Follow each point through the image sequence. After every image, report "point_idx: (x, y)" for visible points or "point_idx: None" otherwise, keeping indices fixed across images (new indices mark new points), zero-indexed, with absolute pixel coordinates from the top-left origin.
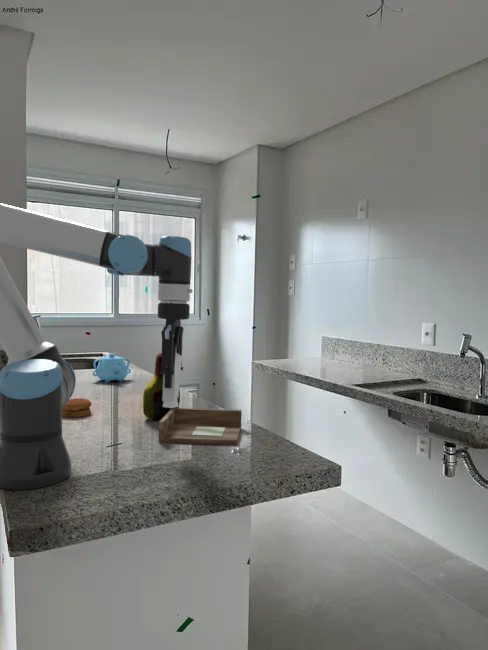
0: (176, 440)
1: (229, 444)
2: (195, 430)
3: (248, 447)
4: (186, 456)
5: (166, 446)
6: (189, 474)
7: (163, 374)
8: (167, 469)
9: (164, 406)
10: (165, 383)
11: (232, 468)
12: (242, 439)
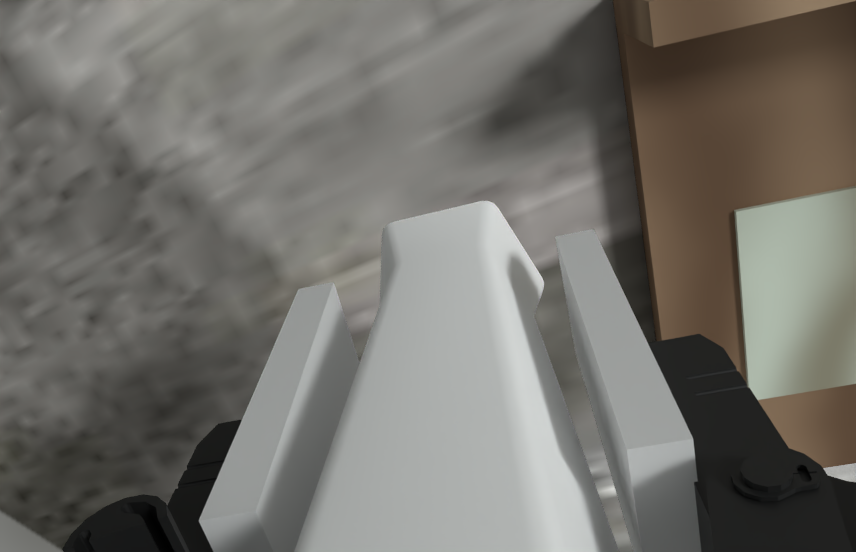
0: (633, 131)
1: None
2: (854, 197)
3: None
4: None
5: (532, 95)
6: (150, 400)
7: (204, 516)
8: (156, 280)
9: (382, 251)
10: (190, 479)
11: None
12: None
